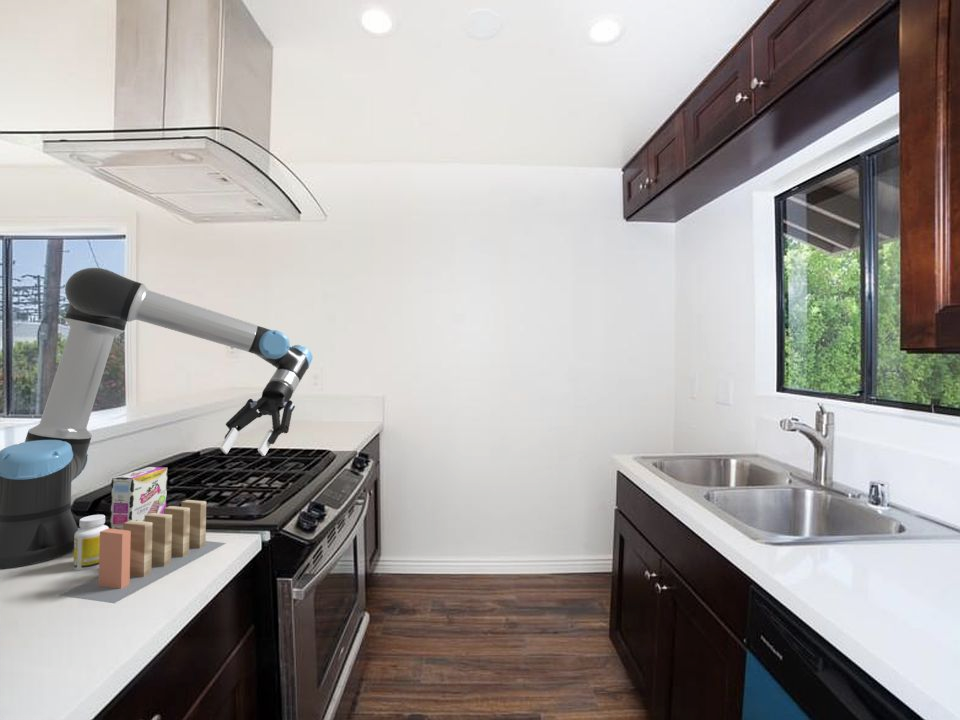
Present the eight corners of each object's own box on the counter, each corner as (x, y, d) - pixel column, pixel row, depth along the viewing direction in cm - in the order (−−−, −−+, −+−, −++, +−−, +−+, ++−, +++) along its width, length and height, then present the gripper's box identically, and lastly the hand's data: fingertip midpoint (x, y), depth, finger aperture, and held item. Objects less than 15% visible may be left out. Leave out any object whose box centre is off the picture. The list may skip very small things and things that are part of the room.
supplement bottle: (115, 560, 93) (116, 513, 93) (90, 572, 88) (91, 523, 88) (92, 558, 94) (93, 512, 94) (65, 570, 88) (66, 521, 88)
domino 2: (130, 570, 88) (131, 520, 88) (151, 573, 87) (152, 522, 88) (122, 574, 87) (123, 523, 87) (143, 576, 86) (145, 525, 86)
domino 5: (186, 543, 102) (187, 499, 102) (205, 545, 101) (206, 501, 101) (180, 546, 100) (181, 501, 100) (199, 548, 99) (200, 503, 99)
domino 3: (150, 560, 93) (151, 512, 93) (171, 563, 92) (172, 514, 92) (143, 564, 91) (144, 515, 91) (164, 566, 90) (165, 517, 90)
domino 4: (169, 551, 97) (170, 505, 97) (189, 553, 96) (190, 507, 96) (162, 554, 96) (163, 508, 96) (182, 557, 95) (183, 510, 95)
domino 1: (107, 581, 84) (108, 528, 84) (129, 584, 83) (130, 530, 83) (98, 585, 82) (99, 531, 82) (121, 588, 81) (122, 534, 82)
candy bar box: (131, 553, 97) (132, 478, 97) (108, 553, 97) (109, 477, 97) (167, 533, 108) (168, 466, 108) (146, 533, 108) (148, 465, 108)
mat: (181, 539, 104) (181, 538, 104) (226, 544, 102) (226, 543, 102) (58, 596, 79) (58, 595, 79) (114, 604, 77) (114, 602, 77)
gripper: (321, 397, 131) (287, 462, 116) (252, 395, 135) (211, 457, 120) (311, 380, 126) (275, 445, 111) (240, 378, 130) (195, 441, 115)
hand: (242, 451), depth 115 cm, fingers open, 10 cm apart
